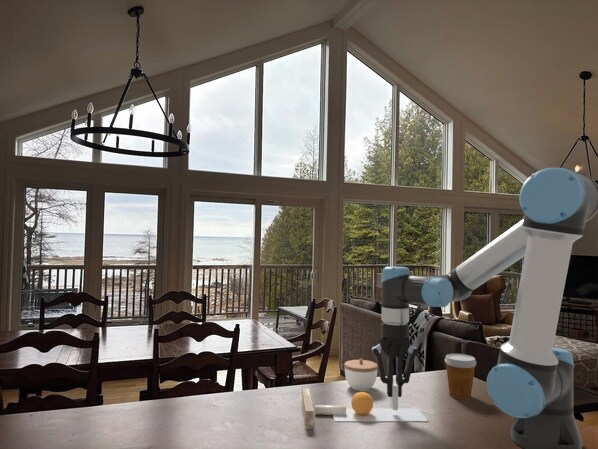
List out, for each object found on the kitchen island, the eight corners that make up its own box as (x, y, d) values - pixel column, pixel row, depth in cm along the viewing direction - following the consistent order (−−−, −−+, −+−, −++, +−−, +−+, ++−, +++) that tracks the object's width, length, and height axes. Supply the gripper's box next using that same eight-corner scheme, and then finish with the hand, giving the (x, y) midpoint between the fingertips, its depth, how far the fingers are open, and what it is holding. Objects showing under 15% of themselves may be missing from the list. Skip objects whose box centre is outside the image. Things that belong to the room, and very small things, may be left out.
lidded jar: (376, 394, 145) (377, 364, 145) (342, 391, 147) (342, 362, 148) (377, 384, 156) (378, 355, 156) (345, 381, 158) (346, 353, 158)
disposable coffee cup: (444, 399, 142) (444, 359, 142) (444, 389, 151) (444, 352, 151) (477, 402, 139) (477, 362, 140) (475, 392, 148) (475, 354, 149)
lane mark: (417, 409, 133) (417, 408, 133) (427, 421, 124) (427, 420, 124) (330, 409, 132) (331, 408, 132) (334, 421, 123) (334, 420, 123)
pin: (345, 404, 129) (315, 403, 129) (346, 410, 127) (314, 409, 127) (345, 410, 130) (315, 409, 130) (345, 417, 128) (314, 416, 128)
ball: (343, 401, 129) (354, 420, 129) (357, 398, 125) (368, 418, 124) (355, 389, 133) (366, 408, 133) (369, 386, 129) (381, 405, 128)
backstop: (308, 403, 136) (308, 387, 136) (313, 428, 118) (313, 410, 119) (301, 403, 136) (302, 387, 136) (305, 428, 118) (305, 410, 118)
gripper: (414, 320, 133) (413, 403, 132) (369, 319, 132) (368, 403, 132) (422, 325, 126) (421, 413, 125) (374, 324, 125) (373, 413, 124)
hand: (394, 408), depth 128 cm, fingers closed
